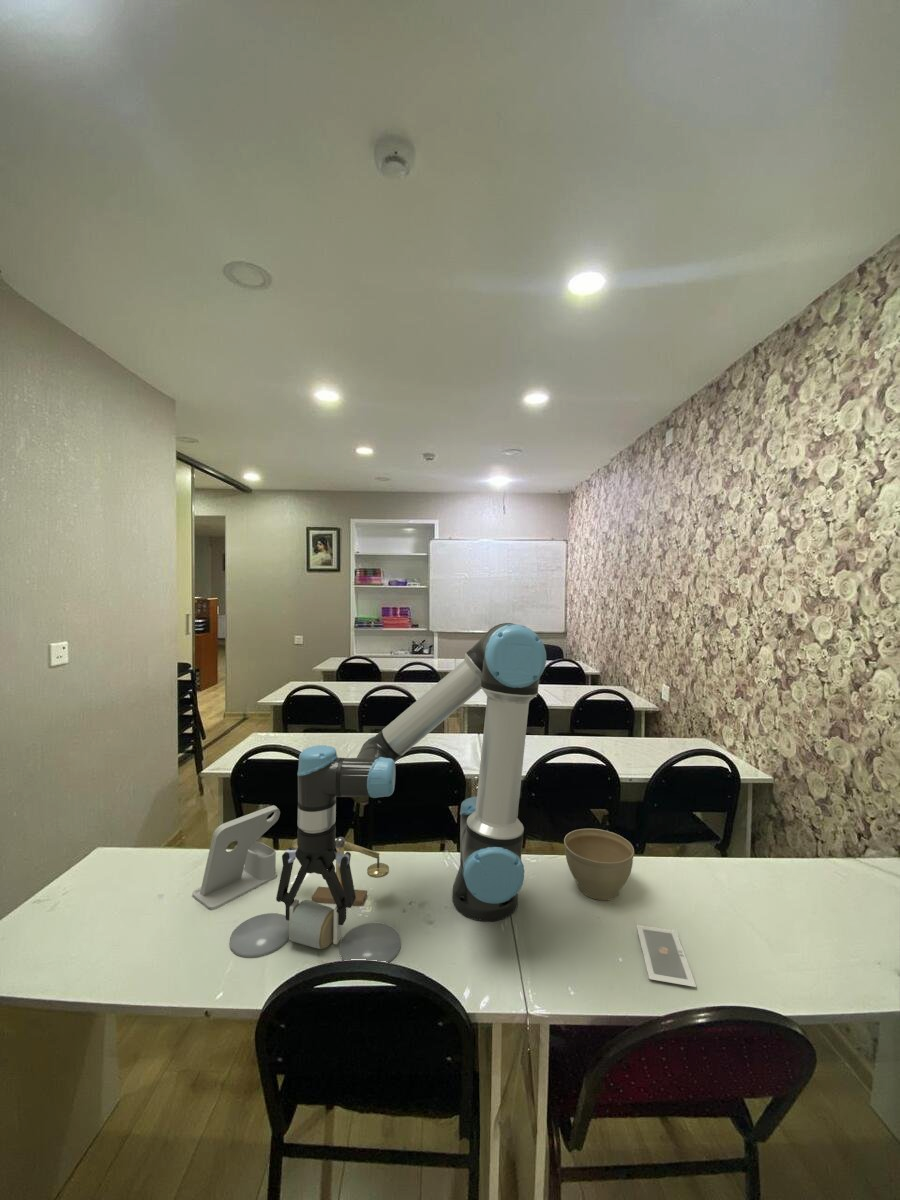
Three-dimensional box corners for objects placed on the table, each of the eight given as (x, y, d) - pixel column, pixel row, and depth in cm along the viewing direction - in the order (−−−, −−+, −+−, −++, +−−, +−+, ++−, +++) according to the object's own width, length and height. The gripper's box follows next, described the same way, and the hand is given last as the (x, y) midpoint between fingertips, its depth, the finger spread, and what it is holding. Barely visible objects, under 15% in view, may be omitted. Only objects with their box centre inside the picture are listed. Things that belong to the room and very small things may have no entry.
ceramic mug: (321, 959, 91) (322, 920, 91) (287, 949, 93) (288, 911, 93) (348, 926, 100) (349, 890, 101) (316, 918, 103) (317, 883, 103)
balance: (391, 896, 111) (391, 827, 111) (385, 910, 106) (386, 838, 106) (296, 888, 113) (297, 821, 114) (287, 901, 108) (288, 831, 109)
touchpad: (649, 985, 86) (649, 972, 86) (636, 929, 101) (636, 919, 101) (696, 993, 84) (696, 981, 84) (676, 935, 99) (676, 925, 99)
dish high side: (302, 919, 102) (302, 915, 102) (275, 960, 90) (275, 956, 90) (250, 914, 104) (250, 910, 104) (216, 954, 92) (216, 950, 92)
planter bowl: (556, 871, 122) (556, 828, 122) (617, 870, 123) (617, 828, 123) (575, 911, 106) (575, 862, 106) (645, 910, 106) (646, 861, 107)
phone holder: (258, 863, 125) (259, 794, 125) (280, 876, 119) (281, 804, 119) (190, 895, 111) (191, 818, 111) (211, 912, 105) (212, 830, 105)
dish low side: (406, 929, 100) (406, 925, 100) (392, 973, 88) (392, 968, 88) (351, 924, 101) (351, 920, 101) (330, 966, 89) (330, 962, 89)
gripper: (372, 819, 98) (372, 929, 98) (276, 813, 101) (274, 920, 101) (361, 837, 91) (360, 955, 91) (257, 830, 94) (256, 945, 93)
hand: (315, 937), depth 96 cm, fingers closed on ceramic mug, 8 cm apart
